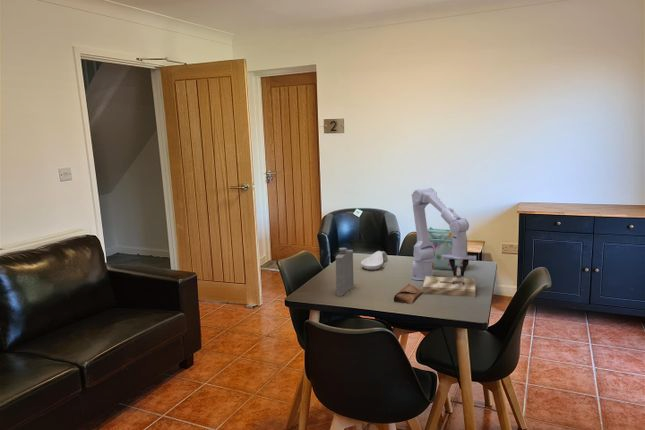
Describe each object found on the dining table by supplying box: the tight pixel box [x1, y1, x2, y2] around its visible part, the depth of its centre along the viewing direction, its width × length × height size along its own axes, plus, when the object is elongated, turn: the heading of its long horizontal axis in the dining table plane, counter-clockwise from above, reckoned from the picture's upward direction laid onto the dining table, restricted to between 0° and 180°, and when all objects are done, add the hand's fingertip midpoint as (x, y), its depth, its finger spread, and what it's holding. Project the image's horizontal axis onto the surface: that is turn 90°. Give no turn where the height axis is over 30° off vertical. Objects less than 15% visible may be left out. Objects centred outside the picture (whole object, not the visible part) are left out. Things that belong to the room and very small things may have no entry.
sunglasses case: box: [393, 283, 423, 305], centre depth 197 cm, size 18×7×7 cm, turn 151°
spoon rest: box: [360, 250, 389, 271], centre depth 248 cm, size 24×12×7 cm, turn 152°
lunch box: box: [416, 226, 468, 271], centre depth 240 cm, size 27×10×21 cm, turn 67°
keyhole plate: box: [422, 276, 476, 298], centre depth 205 cm, size 22×16×3 cm
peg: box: [454, 265, 463, 285], centre depth 203 cm, size 4×4×9 cm
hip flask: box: [335, 247, 355, 297], centre depth 207 cm, size 16×4×20 cm, turn 156°
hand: (458, 275), depth 203 cm, fingers closed on peg, 3 cm apart
